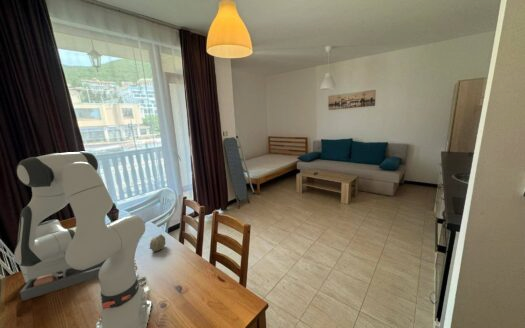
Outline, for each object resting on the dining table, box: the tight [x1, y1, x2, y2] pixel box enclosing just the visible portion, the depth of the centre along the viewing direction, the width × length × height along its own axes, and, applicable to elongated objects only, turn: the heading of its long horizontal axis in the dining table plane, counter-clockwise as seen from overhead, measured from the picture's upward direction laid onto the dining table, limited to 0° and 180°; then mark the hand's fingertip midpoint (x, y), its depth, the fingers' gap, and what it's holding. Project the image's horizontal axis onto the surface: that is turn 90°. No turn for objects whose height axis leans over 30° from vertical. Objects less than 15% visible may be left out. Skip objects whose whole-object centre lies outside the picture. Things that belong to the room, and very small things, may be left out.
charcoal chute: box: [19, 260, 106, 302], centre depth 102 cm, size 9×32×4 cm, turn 120°
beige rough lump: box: [148, 234, 167, 252], centre depth 124 cm, size 9×8×10 cm
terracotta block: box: [34, 273, 57, 287], centre depth 97 cm, size 6×6×4 cm
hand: (61, 278), depth 100 cm, fingers closed
